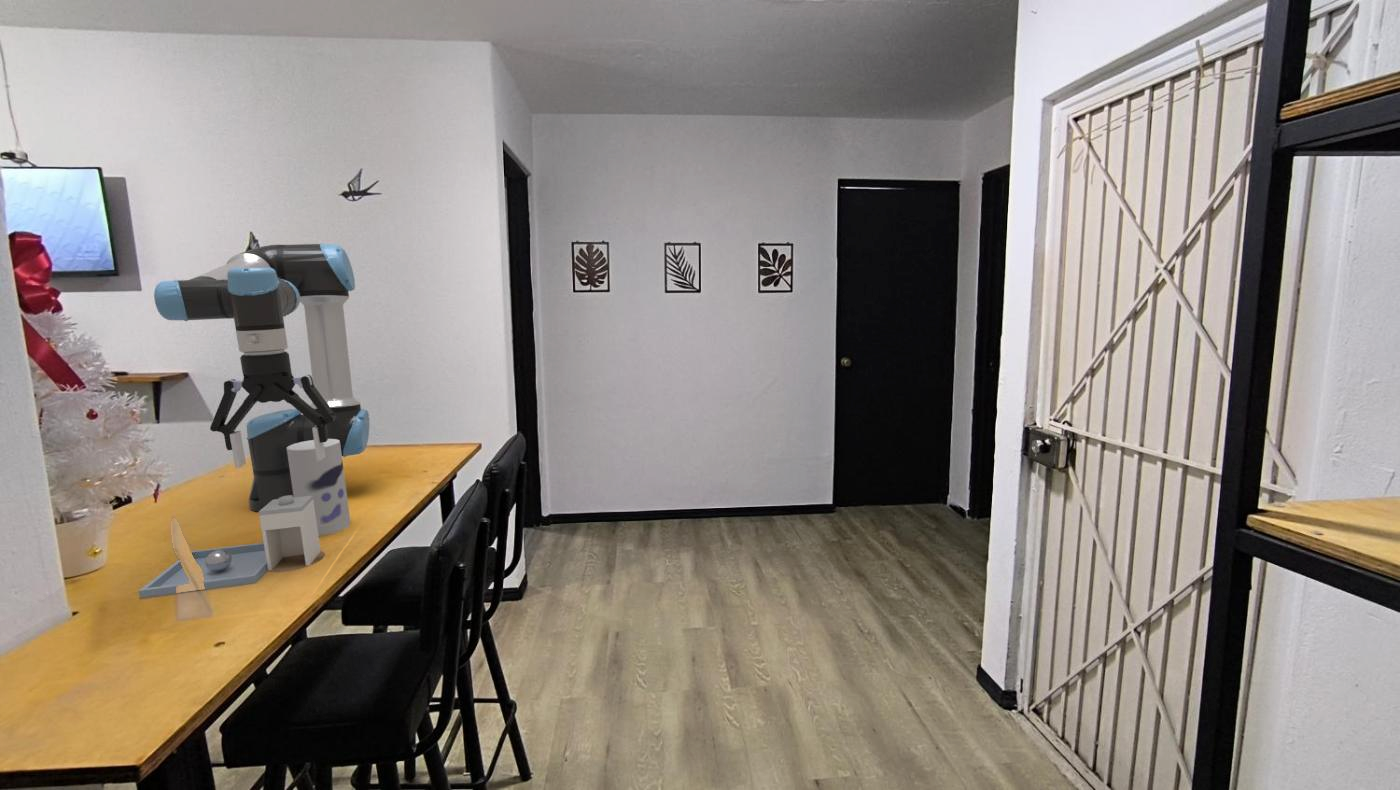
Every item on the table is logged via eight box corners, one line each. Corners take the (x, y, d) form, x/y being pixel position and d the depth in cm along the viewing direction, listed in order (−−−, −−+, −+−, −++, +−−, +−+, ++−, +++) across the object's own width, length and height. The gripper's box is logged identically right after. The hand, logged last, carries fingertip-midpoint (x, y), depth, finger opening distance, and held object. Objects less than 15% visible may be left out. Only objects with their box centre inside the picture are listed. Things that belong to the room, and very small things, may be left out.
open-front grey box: (281, 556, 126) (272, 493, 124) (320, 551, 128) (311, 489, 126) (268, 570, 120) (257, 505, 117) (309, 565, 121) (300, 500, 119)
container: (327, 540, 135) (315, 449, 132) (288, 537, 137) (274, 448, 134) (360, 523, 145) (350, 438, 142) (323, 521, 147) (312, 437, 144)
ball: (212, 568, 122) (209, 548, 121) (236, 565, 123) (233, 545, 122) (203, 577, 118) (199, 556, 117) (227, 573, 119) (224, 553, 118)
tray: (191, 560, 127) (189, 551, 127) (290, 548, 131) (288, 539, 131) (140, 601, 110) (138, 590, 110) (256, 586, 115) (254, 575, 114)
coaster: (276, 556, 127) (275, 554, 127) (331, 549, 130) (330, 547, 130) (256, 578, 118) (255, 575, 118) (316, 570, 121) (315, 567, 120)
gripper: (174, 358, 110) (195, 474, 114) (333, 350, 117) (348, 461, 121) (195, 353, 117) (214, 463, 121) (344, 346, 124) (358, 450, 128)
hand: (281, 462), depth 121 cm, fingers open, 13 cm apart
